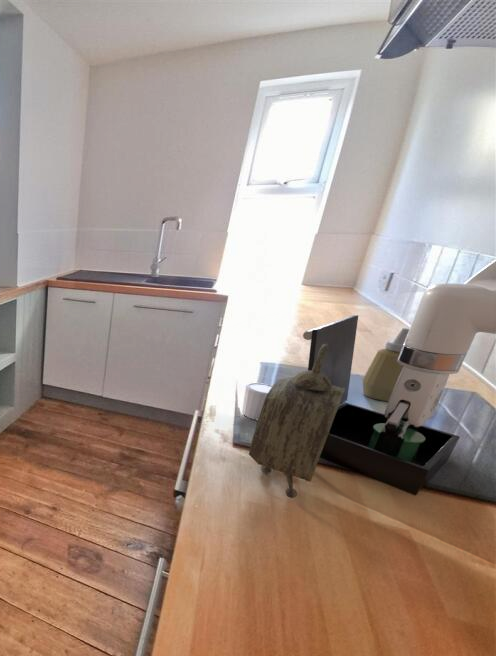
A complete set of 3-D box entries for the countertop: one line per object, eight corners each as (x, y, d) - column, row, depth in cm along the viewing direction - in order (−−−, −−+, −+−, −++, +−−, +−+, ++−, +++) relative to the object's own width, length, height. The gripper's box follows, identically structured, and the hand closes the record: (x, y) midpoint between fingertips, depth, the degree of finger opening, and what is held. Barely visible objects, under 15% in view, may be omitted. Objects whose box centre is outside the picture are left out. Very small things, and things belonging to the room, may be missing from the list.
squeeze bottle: (349, 392, 108) (375, 325, 101) (371, 388, 110) (397, 323, 103) (385, 405, 101) (415, 334, 94) (407, 401, 103) (438, 331, 96)
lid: (358, 315, 84) (329, 314, 88) (317, 329, 75) (287, 328, 79) (347, 400, 89) (320, 396, 93) (306, 424, 79) (278, 418, 83)
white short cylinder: (232, 412, 98) (239, 385, 95) (250, 406, 101) (257, 380, 98) (261, 424, 92) (269, 396, 89) (279, 418, 95) (288, 390, 92)
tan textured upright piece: (300, 507, 67) (354, 363, 57) (238, 484, 73) (277, 349, 63) (314, 469, 76) (363, 340, 66) (259, 451, 82) (295, 330, 72)
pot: (420, 455, 77) (430, 434, 75) (408, 468, 73) (418, 446, 72) (372, 440, 82) (381, 419, 80) (359, 451, 79) (367, 430, 77)
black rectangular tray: (446, 462, 78) (460, 436, 76) (413, 499, 69) (428, 470, 66) (335, 425, 92) (344, 402, 90) (294, 451, 82) (303, 425, 80)
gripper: (446, 376, 63) (403, 472, 70) (474, 354, 72) (433, 442, 79) (383, 362, 69) (349, 453, 76) (416, 343, 78) (382, 426, 85)
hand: (392, 446), depth 77 cm, fingers closed on pot, 7 cm apart
